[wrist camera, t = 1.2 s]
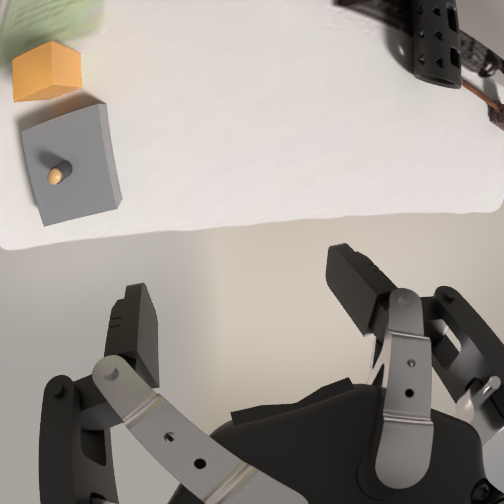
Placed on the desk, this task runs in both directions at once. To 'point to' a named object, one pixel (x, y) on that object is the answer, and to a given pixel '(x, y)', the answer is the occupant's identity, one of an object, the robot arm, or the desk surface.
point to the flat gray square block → (72, 165)
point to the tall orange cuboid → (46, 72)
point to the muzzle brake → (436, 42)
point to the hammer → (499, 112)
